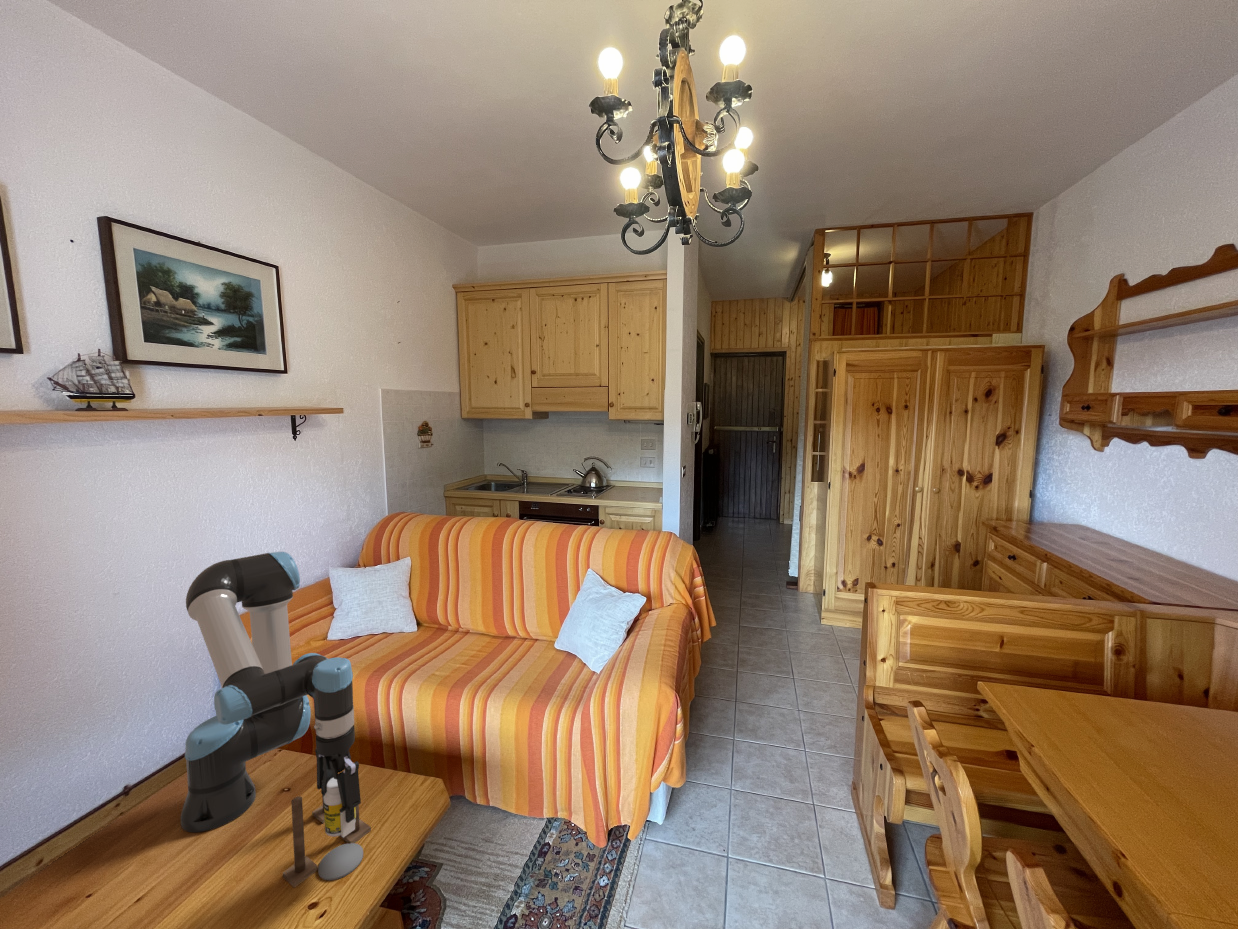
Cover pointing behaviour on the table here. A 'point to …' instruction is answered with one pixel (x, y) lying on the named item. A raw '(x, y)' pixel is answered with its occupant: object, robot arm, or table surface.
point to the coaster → (340, 861)
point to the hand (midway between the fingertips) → (339, 826)
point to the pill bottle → (333, 809)
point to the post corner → (357, 829)
